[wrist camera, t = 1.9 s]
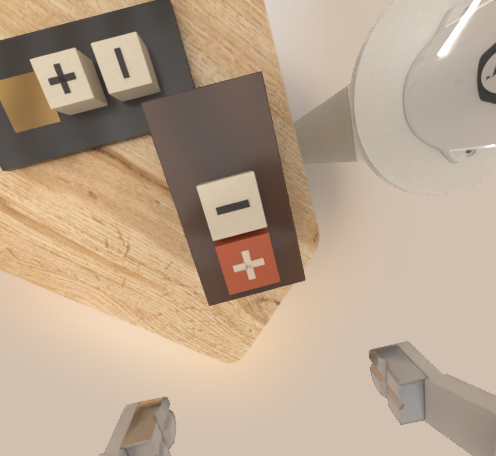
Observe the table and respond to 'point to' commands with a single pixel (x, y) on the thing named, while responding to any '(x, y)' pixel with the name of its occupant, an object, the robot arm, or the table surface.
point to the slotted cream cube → (232, 205)
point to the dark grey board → (117, 112)
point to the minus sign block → (126, 66)
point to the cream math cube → (69, 81)
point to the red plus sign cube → (247, 261)
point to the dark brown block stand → (223, 169)
